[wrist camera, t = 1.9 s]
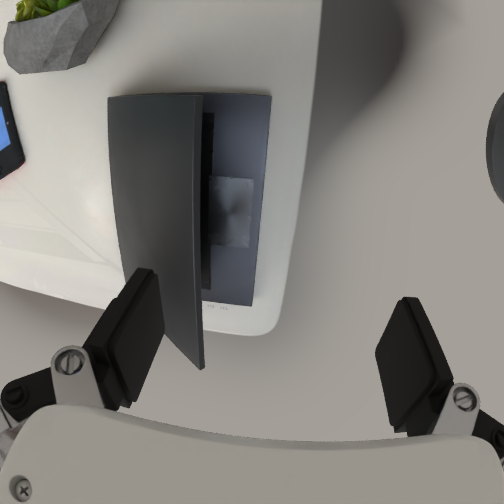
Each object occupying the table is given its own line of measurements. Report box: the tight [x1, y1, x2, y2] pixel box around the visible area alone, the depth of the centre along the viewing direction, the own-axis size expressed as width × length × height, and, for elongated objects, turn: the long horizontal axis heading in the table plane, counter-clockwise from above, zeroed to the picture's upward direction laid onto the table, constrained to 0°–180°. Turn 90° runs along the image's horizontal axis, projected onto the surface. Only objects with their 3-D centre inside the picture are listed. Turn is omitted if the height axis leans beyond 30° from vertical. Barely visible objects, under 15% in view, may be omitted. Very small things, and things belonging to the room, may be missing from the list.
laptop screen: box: [108, 95, 205, 370], centre depth 29 cm, size 17×26×1 cm
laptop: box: [115, 92, 272, 306], centre depth 34 cm, size 17×26×2 cm, turn 176°
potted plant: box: [4, 0, 119, 74], centre depth 18 cm, size 12×13×15 cm
